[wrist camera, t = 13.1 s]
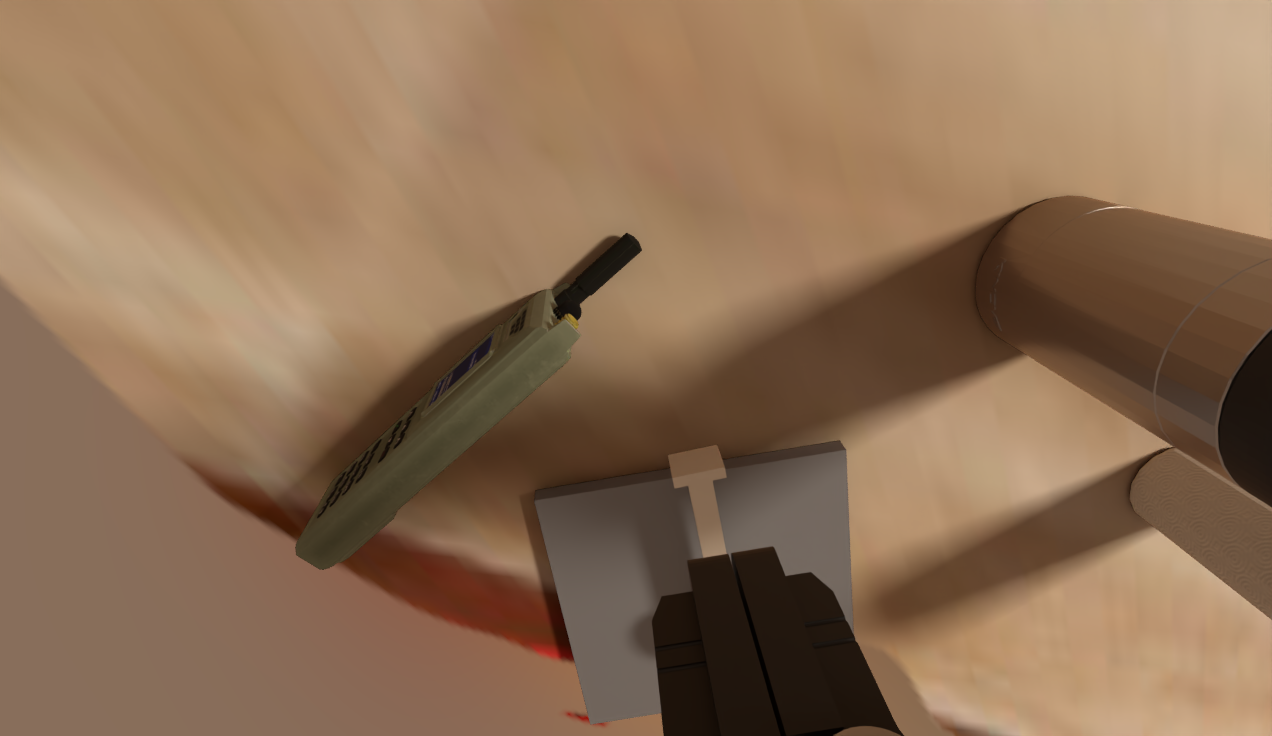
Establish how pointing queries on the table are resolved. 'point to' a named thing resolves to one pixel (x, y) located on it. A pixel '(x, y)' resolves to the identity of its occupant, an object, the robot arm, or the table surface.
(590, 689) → the gauge board
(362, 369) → the table surface
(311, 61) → the table surface
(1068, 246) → the robot arm
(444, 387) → the handheld radio
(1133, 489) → the paper towel roll
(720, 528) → the lever with orange pointer
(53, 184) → the table surface
